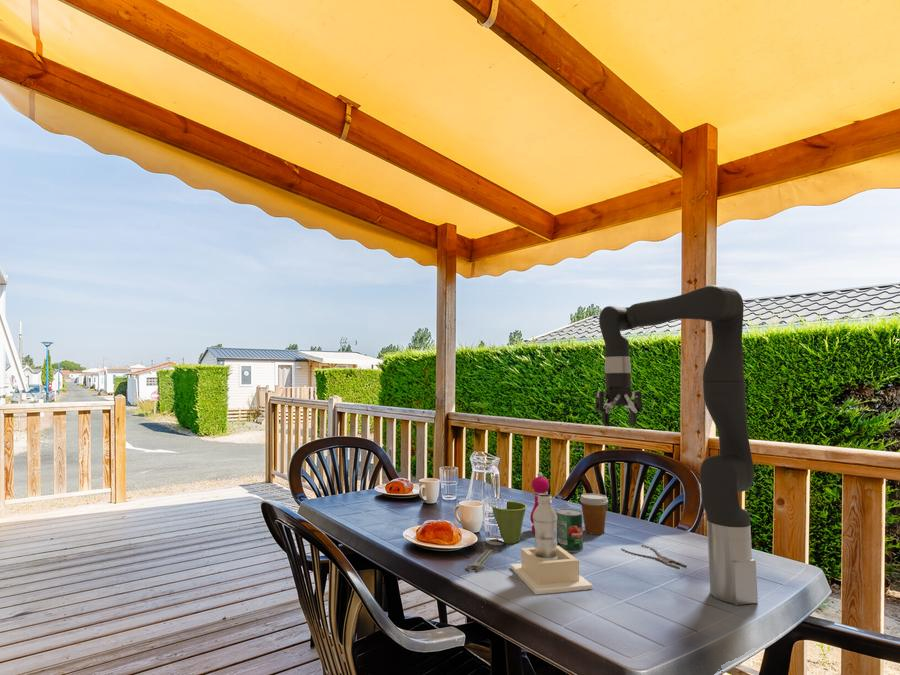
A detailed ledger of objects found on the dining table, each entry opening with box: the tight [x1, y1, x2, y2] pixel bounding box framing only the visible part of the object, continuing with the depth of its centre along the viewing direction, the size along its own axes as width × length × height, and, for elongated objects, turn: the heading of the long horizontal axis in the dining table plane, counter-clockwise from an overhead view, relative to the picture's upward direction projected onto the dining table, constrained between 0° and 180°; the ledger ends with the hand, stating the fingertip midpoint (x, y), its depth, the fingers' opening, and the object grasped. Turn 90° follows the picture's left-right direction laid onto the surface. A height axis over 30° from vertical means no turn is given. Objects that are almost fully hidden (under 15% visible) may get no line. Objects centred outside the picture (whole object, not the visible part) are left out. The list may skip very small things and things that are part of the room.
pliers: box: [620, 544, 688, 570], centre depth 147 cm, size 10×1×20 cm
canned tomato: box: [555, 508, 584, 553], centre depth 154 cm, size 8×8×11 cm
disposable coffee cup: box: [579, 493, 609, 535], centre depth 172 cm, size 10×10×12 cm
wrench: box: [466, 545, 499, 573], centre depth 144 cm, size 5×20×1 cm, turn 160°
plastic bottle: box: [533, 493, 558, 561], centre depth 131 cm, size 6×7×20 cm
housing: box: [510, 545, 593, 595], centre depth 130 cm, size 18×15×6 cm
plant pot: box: [490, 500, 528, 545], centre depth 162 cm, size 12×12×11 cm
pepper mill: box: [529, 472, 550, 534], centre depth 172 cm, size 7×7×20 cm
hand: (619, 426), depth 149 cm, fingers open, 8 cm apart
